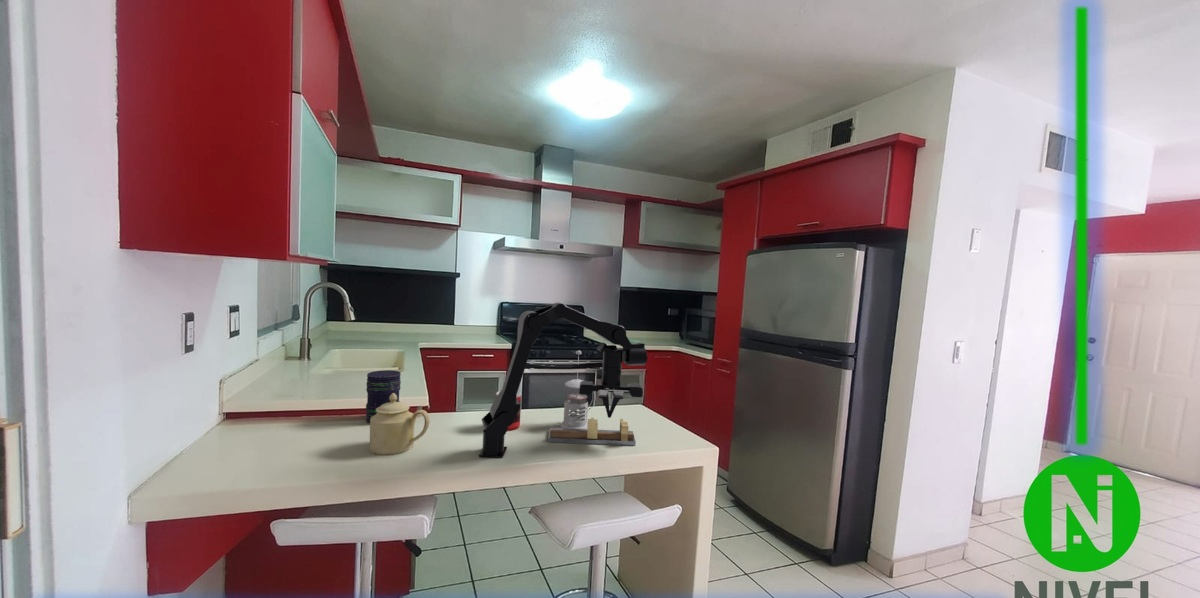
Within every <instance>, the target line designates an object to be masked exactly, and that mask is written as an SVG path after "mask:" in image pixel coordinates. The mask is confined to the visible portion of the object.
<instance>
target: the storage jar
mask: <svg viewBox="0 0 1200 598" xmlns="http://www.w3.org/2000/svg"><path fill="white" fill-rule="evenodd" d="M401 374H402V373H401V372H400V371H399V370H392V369H391V370H389V369H387V370H377V371H371V372H368V373H367V374H366V377H367V378H366V389H365V390H366V393H367V397H366V398H367V399H366V404H365V417H366V419H365V422H366V423H367V424H369V425H370V419H371V417H372V416H374V415H376V414H377V411H376V409H377V408H378V407H380V406H381V405H383V404H385V403H389V402H391V401H390V399H389V397H390V395H391V394H392V393H395V394H396V396H397V400H396V402H401V401H400V390H401Z"/></svg>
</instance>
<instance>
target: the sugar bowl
mask: <svg viewBox="0 0 1200 598" xmlns="http://www.w3.org/2000/svg"><path fill="white" fill-rule="evenodd" d="M389 399H390V401H391V402H389V403H385V404H383V405H381V406H380V407H378V408H377V409H376V411H377V414H376V415H374V416H372V417H371V419H370V424H369V450H370V452H371V453H373V454H375V453H376V455H381V454H382V455H383V456H384V455H387V454H388V455H396V454H402V453H404V452H407V451H409V450H410V449H412V448H413V447H414V443H415V442H416V441H418V440H419V439H420V438H422V437H423V436H424V434H426V432H427V431H428V429H429V427H430V422H431V421H430V415H429V413H428V412H427V411H426V410H424V409H418V410H416V411H414V412H410V411H409V409H410V406H409V405H408V404H405V402H401V401H400V402H396V400H397V396H396V394H395V393H392V394H391V395H390V397H389ZM418 414H420V415H422V417H423V419H424V424H423V428H422V429H421V432H420V433H419V434H418V435H416V436H415V424H416V420H417V418H418Z"/></svg>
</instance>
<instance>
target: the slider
mask: <svg viewBox="0 0 1200 598" xmlns="http://www.w3.org/2000/svg"><path fill="white" fill-rule="evenodd" d="M598 421H599V420H598V419H596V418H594V417H592V416H591V418H587V423H588V424H587V438H592V439H597V431H598V430H599V422H598Z"/></svg>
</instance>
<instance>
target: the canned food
mask: <svg viewBox="0 0 1200 598" xmlns="http://www.w3.org/2000/svg"><path fill="white" fill-rule="evenodd" d="M500 391H501V390H498V391H497V392H496V393H495V399H496V397H497V396H498V394H499V393H500ZM495 399H494V400H495ZM516 399H517V400H518V401H519V403H520V404H521V405H522V392H520V391H519V390H518V392H517V396H516ZM521 409H522V407H520V409H519V411H518V413H517V420H516V419H514V422H513V424H512V425H510V426H508V429H507V431H506V432H508V431H515V430H517V429H518V428H519V427H520V424H521V412H522V411H521Z"/></svg>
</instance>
